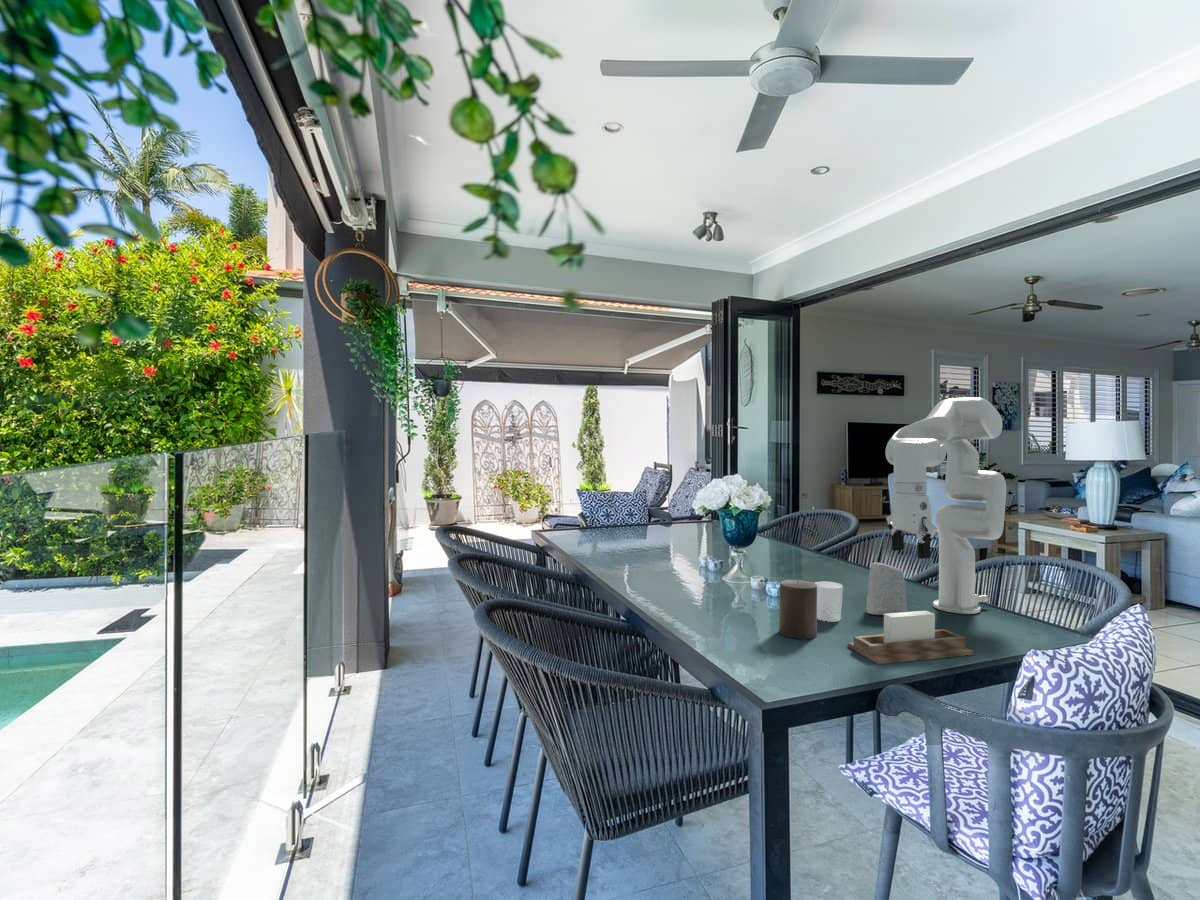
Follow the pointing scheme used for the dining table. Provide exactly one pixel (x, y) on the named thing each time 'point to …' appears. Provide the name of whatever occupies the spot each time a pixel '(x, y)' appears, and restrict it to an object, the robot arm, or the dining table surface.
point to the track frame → (910, 648)
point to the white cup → (829, 601)
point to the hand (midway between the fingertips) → (910, 553)
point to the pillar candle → (798, 609)
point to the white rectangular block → (909, 626)
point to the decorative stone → (886, 590)
